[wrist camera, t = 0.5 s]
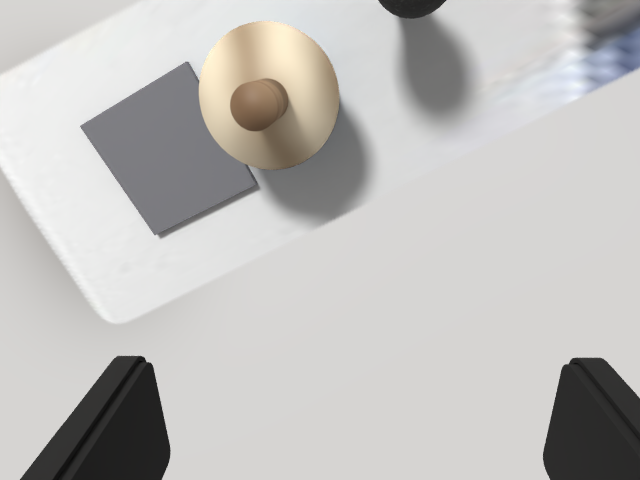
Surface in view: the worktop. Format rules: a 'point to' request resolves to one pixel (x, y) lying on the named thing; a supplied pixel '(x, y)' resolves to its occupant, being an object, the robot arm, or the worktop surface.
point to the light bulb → (411, 7)
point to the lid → (269, 95)
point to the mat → (166, 151)
